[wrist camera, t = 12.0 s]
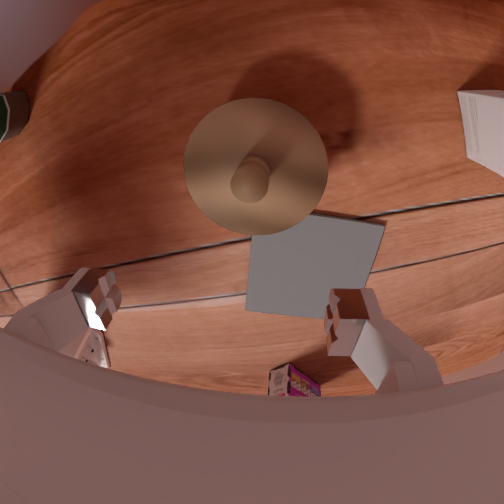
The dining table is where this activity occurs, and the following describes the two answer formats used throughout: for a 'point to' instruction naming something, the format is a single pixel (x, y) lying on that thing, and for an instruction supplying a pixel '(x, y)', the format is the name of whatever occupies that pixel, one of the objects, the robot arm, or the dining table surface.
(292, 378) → the candy bar box
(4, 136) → the beer bottle
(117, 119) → the dining table surface
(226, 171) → the lid
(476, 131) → the supplement box
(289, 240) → the mat
